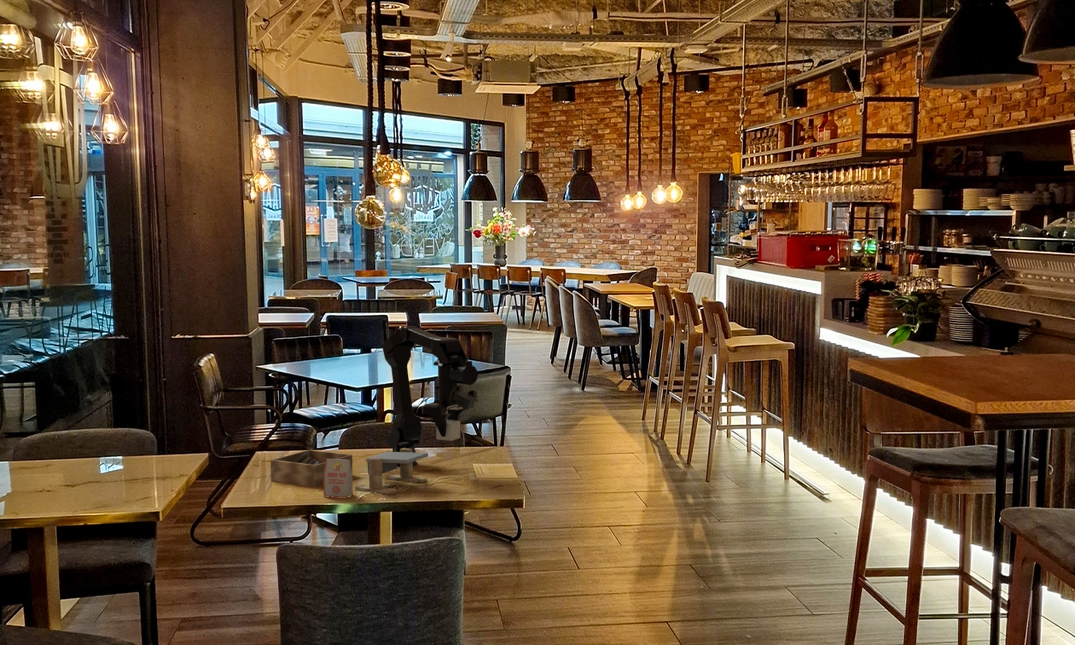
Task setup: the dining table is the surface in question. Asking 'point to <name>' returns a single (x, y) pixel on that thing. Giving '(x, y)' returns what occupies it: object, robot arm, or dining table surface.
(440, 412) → the robot arm
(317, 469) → the open wooden box
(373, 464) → the stand
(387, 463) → the dark grey slab
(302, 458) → the chocolate cake
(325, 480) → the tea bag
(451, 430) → the pale grey cube
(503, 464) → the dining table surface
